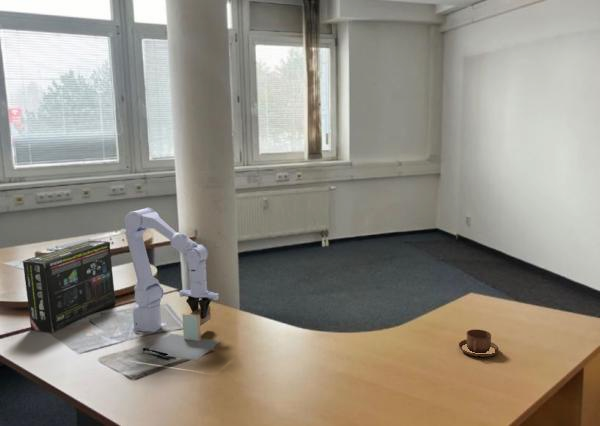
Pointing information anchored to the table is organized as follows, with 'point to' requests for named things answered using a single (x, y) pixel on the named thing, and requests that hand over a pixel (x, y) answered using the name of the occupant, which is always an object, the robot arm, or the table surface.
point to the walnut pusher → (198, 312)
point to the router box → (68, 284)
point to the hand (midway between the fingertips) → (200, 317)
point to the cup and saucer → (478, 343)
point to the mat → (183, 347)
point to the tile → (191, 327)
